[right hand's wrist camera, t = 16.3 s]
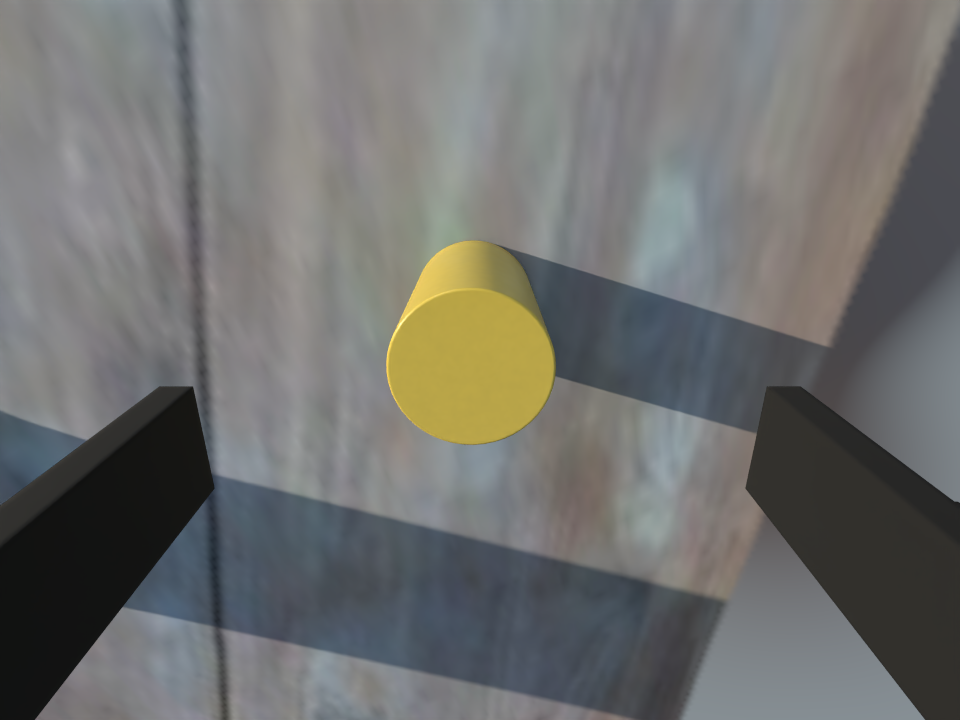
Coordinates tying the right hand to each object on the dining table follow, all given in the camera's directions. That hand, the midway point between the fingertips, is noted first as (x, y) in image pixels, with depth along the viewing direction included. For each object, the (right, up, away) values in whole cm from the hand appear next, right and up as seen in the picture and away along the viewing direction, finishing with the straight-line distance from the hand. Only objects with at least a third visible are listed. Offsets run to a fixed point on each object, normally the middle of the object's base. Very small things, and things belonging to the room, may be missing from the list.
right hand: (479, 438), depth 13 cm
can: (0, +5, +14) cm, 15 cm away
